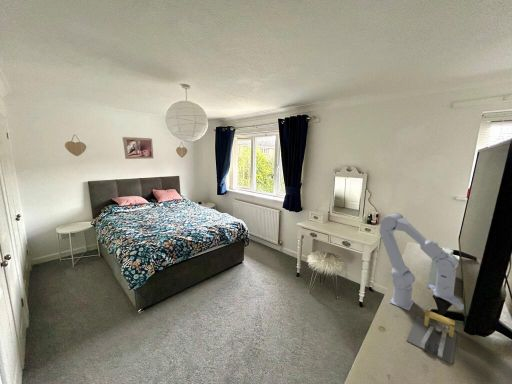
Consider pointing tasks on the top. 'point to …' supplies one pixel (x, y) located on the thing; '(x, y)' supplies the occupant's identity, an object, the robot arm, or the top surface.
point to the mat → (431, 339)
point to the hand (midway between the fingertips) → (441, 313)
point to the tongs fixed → (440, 348)
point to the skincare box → (434, 269)
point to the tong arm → (427, 338)
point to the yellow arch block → (441, 319)
